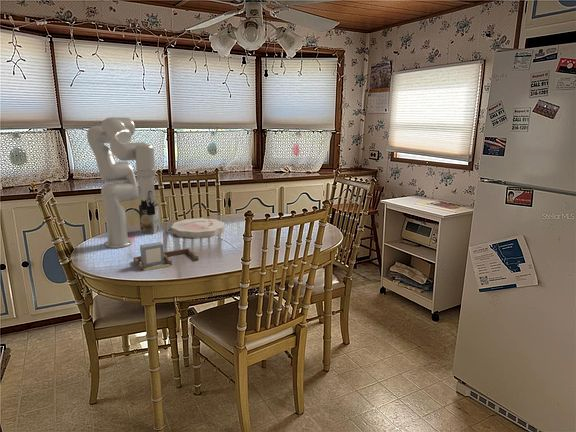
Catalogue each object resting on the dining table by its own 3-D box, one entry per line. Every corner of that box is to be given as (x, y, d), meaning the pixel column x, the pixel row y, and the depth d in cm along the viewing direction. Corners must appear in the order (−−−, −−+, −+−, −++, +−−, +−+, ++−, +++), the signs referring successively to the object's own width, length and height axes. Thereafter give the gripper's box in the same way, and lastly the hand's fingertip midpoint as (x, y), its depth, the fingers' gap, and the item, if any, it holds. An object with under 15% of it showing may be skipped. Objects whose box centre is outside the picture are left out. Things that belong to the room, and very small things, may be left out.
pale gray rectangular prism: (141, 264, 182) (140, 245, 180) (161, 260, 187) (160, 241, 185) (143, 267, 179) (142, 247, 177) (164, 263, 184) (163, 244, 182)
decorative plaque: (160, 226, 230) (197, 216, 255) (160, 232, 231) (197, 221, 256) (200, 235, 215) (235, 223, 240) (200, 241, 216) (235, 229, 241)
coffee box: (139, 232, 229) (137, 205, 225) (146, 229, 235) (144, 202, 231) (154, 234, 227) (152, 206, 223) (160, 231, 233) (158, 203, 229)
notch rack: (133, 261, 185) (133, 255, 185) (188, 251, 199) (188, 246, 198) (141, 271, 174) (140, 265, 173) (199, 260, 188) (198, 255, 187)
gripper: (132, 171, 179) (134, 208, 183) (142, 177, 165) (144, 217, 169) (149, 170, 183) (151, 207, 187) (160, 176, 169) (162, 215, 173)
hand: (148, 212), depth 178 cm, fingers open, 9 cm apart
